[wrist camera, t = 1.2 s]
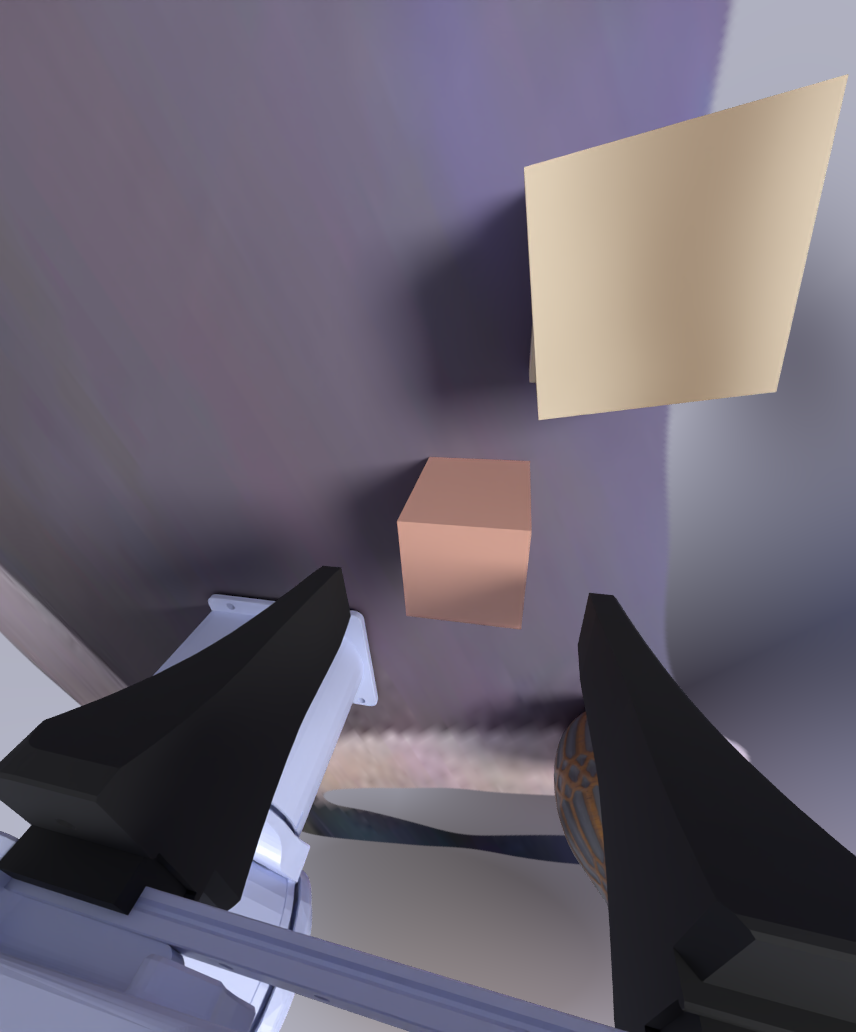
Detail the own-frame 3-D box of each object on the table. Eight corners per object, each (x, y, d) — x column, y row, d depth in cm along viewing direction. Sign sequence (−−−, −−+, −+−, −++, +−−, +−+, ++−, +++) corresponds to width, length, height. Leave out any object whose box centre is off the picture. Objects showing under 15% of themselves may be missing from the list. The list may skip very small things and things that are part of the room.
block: (433, 537, 19) (406, 615, 14) (429, 456, 16) (396, 521, 12) (521, 544, 18) (521, 629, 14) (529, 460, 16) (531, 530, 12)
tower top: (536, 394, 12) (538, 419, 10) (524, 188, 10) (524, 167, 8) (728, 367, 11) (775, 391, 9) (768, 122, 8) (848, 73, 6)
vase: (605, 772, 25) (637, 977, 18) (525, 715, 24) (525, 912, 17) (712, 737, 22) (806, 977, 14) (625, 669, 20) (681, 895, 13)
